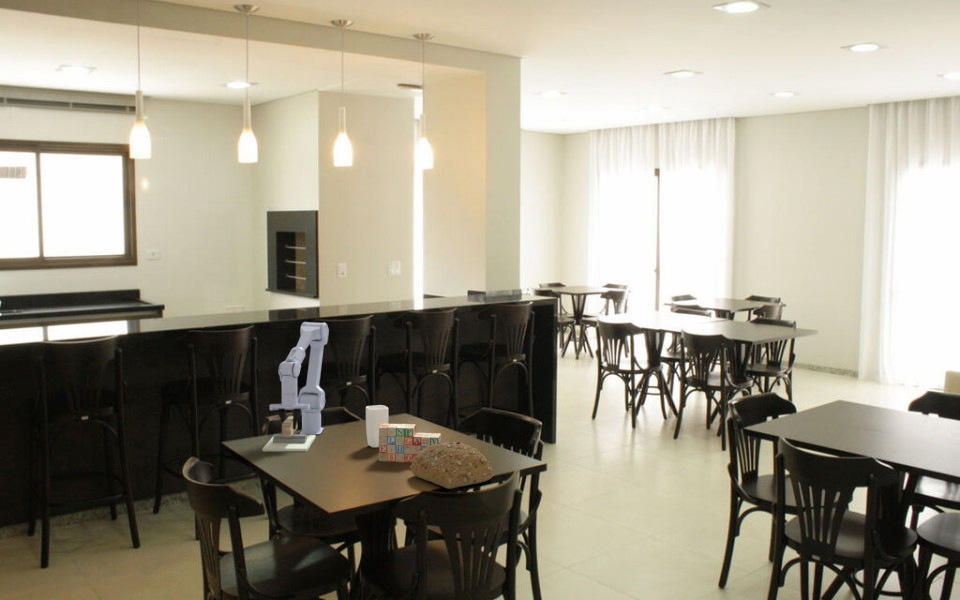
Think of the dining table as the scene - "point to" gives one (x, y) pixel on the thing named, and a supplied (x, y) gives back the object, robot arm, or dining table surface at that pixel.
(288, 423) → the beech rod
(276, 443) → the fulcrum stand
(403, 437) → the stack of blocks
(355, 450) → the dining table surface
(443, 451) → the bread
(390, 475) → the dining table surface
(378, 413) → the cup
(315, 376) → the robot arm
